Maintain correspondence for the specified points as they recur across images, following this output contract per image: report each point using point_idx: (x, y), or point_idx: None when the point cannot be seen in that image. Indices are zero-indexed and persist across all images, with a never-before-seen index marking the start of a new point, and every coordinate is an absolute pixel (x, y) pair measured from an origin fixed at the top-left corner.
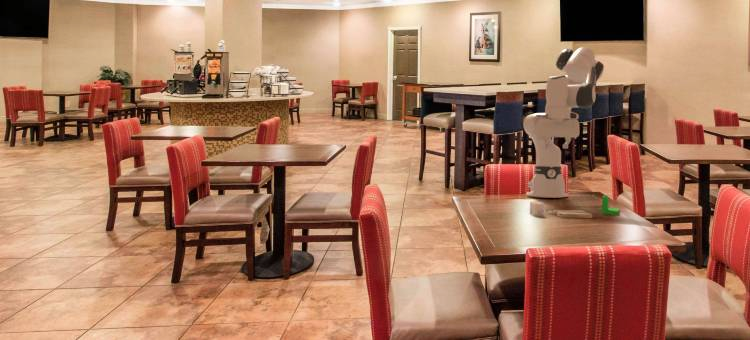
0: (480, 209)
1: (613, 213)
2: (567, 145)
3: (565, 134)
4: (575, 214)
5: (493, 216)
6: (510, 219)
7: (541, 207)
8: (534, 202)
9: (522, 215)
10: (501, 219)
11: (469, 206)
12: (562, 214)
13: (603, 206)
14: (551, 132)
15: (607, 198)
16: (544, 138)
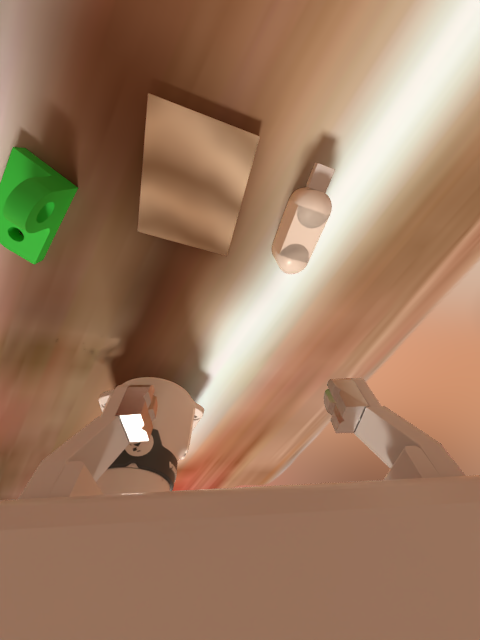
0: (354, 347)
1: (34, 158)
2: (116, 403)
3: (107, 541)
4: (213, 119)
5: (431, 220)
6: (446, 137)
7: (312, 190)
8: (303, 248)
9: (339, 225)
10: (471, 144)
11: None
12: (258, 136)
13: (57, 186)
14: (407, 568)
15: (19, 184)
16: (431, 460)
